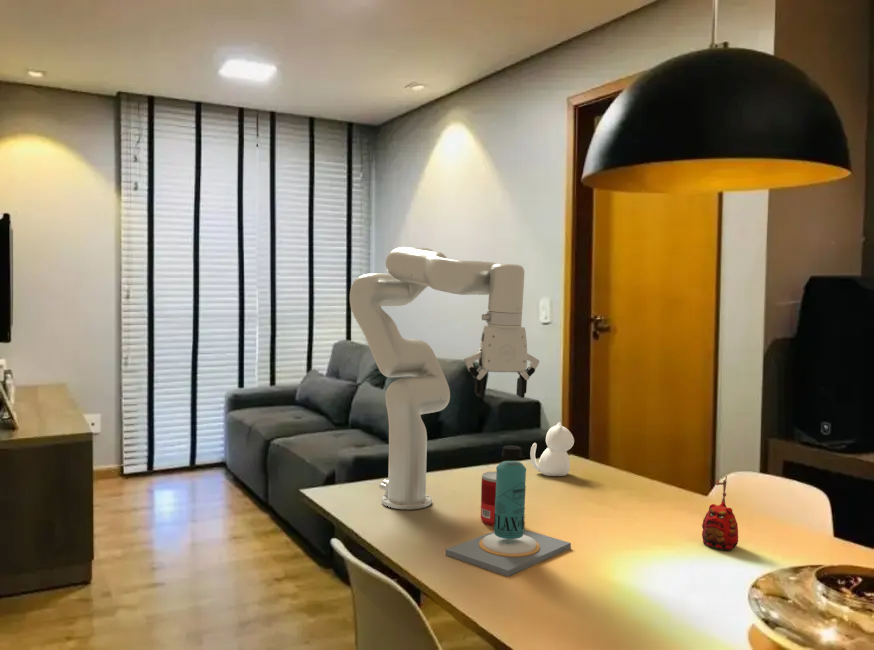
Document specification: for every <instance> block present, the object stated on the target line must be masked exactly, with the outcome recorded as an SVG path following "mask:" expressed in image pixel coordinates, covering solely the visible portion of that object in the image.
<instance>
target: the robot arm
mask: <svg viewBox="0 0 874 650" xmlns="http://www.w3.org/2000/svg"><path fill="white" fill-rule="evenodd" d="M385 267H386V272H387V273H384V272H383V273H382V272H381V273H379V272H375V273H374V272H373V273H365V274H362V275H360V276H358V277H357V278H356V279H354V281H353V282H352V284H351V286H350V291H349V305H350V310H351V312H352V315H353V317H354V319H355V321H356V323H357V324H358V326H359V327H360V329H361V331H362V333H363V335H364V336H365V339H366V342H367V345H368V347H369V349H370V351H371V354H372V357H373V360H374V361H375V364H376V366H377V368H378V371H379V372H380V373H381V374H382V375H383V376H384V377H387V378H398V379H396V380H394V381H392V382H391V383H390V384H389V385H388V386H387V388H386V391H385V404H386V405H385V406H386V411H387V417H388V418H387V419H388V420H387V421H388V478H387V479H384V480H383V481H382V482H381V483H380V484H379V487H378V488H379V489H380V490H384V491H385V492H384V495H382V496H381V503H382V505H384V506H385V507H387V506H388V507H387V508H390V507H391V508H390V509H395V510H396V509H397V510H404V509H405V511H406V510H409V511H410V510H419V509H425V508H427V507H429V506H431V504H432V502H433V501H432V500H433V499H432V497H431V496H430V495H429V494H427V457H428V456H427V451H428V435H427V434H428V432H427V428H426V426H425V423H424V421H423V419H422V416H421V415H425V414H431V413H432V414H433V413H436V412H437V413H438V412H441V411H443V410H444V409H445V408H447V406H448V404H449V403H450V399H451V390H450V386H449V384H448V383H449V382H448V381H447V379H446V377H445V373H444V372H443V370H442V367H441V365H440V363H439V360H438V359H437V356H436V354H435V352H434V350H433V348H432V347H431V346H430V345H429V343H427V342H426V341H424V340H422V339H418V338H408V339H405V338H403V336H402V335H401V333H400V331H399V329H398V326H397V324H396V322H395V320H393V318H392V316H390V315H389V314H388V313H387V312H386V311H385V310H384V309H383V308H382V307H396V306H397V307H398V306H399V307H401V306H406V305H408V304H410V303H412V302H413V301H414V300H415V299H416V298H418V297H419V296H420V295H421V294H422V293H423V292H424V291H425V290H426V289H427V288H428V287H430V288H431V289H433V290H435V291H439V292H445V293H449V294H452V295H453V294H454V295H462V296H470V295H471V296H472V295H478V296H480V295H481V296H483V295H484V296H485V295H487V296H488V301H487V302H488V304H487V311H486V313H484V314H483V313H482V314H481V321H485V322H486V324H485V325H484V326H483V330H482V334H481V338H480V343H479V351H477V352H474V353H473V354H471V355H469V356H467V357H465V358H464V360H463V361H464V364H465V366H466V368H467V371H468V373H470V374H471V376H472V377H473V378H474V393H475V395H476V397H478V398H479V399H482V398H484V393H485V391H484V390H485V380H484V379H483V378H484V377H485V376H486V375H487V373H488V372H490V373H517V374H518V378H517V379H516V381H517V382H516V393H515V394H516V396H518V397H519V398H521V399H524V398H525V395H526V393H527V389H528V388H527V385H528V380H530V378H531V376H532V375H533V374H534V373H535V372H536V369H537V367H538V366H539V363H540V360H539V359H538V358H536V357H534V356H532V355H531V354H529V353H528V339H527V332H526V327H525V326H522V321H523V305H524V302H523V301H524V290H525V289H524V287H525V269H524V267H523V266H522V265H519V264H514V263H512V264H511V263H497V262H493V261H481V260H480V261H478V260H460V259H459V260H457V259H452V258H448V257H447V256H446V255H445V254H444V253H442V252H441V251H440V252H439V251H434V250H433V249H431V248H427V247H426V248H425V247H413V246H411V247H410V246H401V247H397V248H394V249H393V250H391V251H389V253H388V254H387V256H386V260H385ZM476 361H478V368H475V367H474V362H476ZM528 362H530V364H529V366H528ZM402 377H403V378H402Z"/></svg>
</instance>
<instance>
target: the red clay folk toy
mask: <svg viewBox="0 0 874 650" xmlns="http://www.w3.org/2000/svg"><path fill="white" fill-rule="evenodd" d="M727 479H728V476H727V475H725V478H724V480H722V481H723V482H722V481H719V480H716V481H715V482H716V483H715V485H716V486H720V485H722V486H723V489H722V490H723V492H722V499H721V503H720V504H719V505H718V504H715V503H712V504H710V505H709V508H708V511H707V512H706V513H705V516H704V518H703V521H702V523H701V527H702V532H701V537H702V543H703V545H706V546H707V547H711V548H715V549H716V550H718V551H726V552H727V551H729V552H730V551H732V550H733V549H734V548H736V547H737V546H738V543H739V527H738V526H739V525H738V521H737V519H736V515H735V514H734V512H733V508H731V507H727V505H726V498H725V497H727V493H726V489H727V482H728V480H727Z"/></svg>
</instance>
